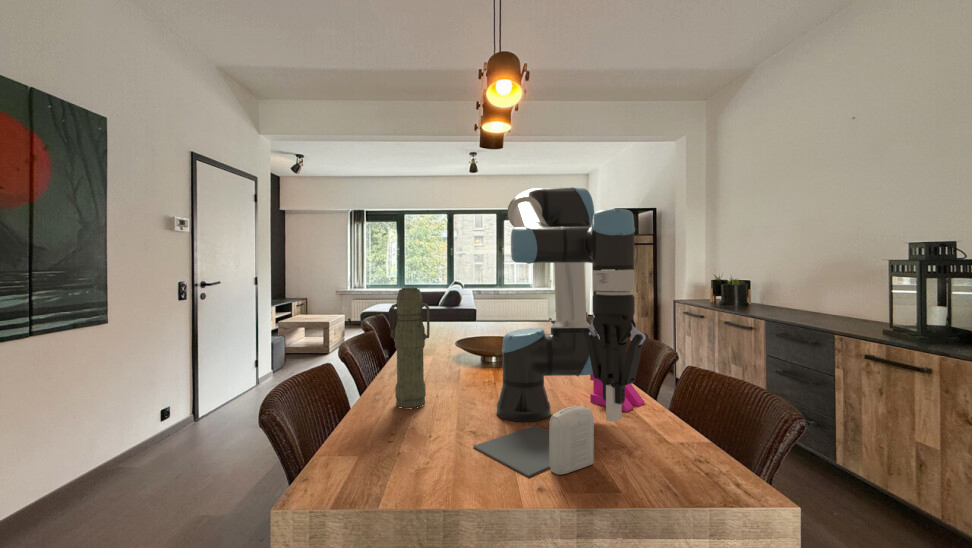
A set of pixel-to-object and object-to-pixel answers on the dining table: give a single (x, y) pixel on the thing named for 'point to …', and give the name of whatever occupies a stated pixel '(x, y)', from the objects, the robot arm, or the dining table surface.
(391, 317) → the thermos
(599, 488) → the dining table surface
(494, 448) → the mat
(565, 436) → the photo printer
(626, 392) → the bracket
